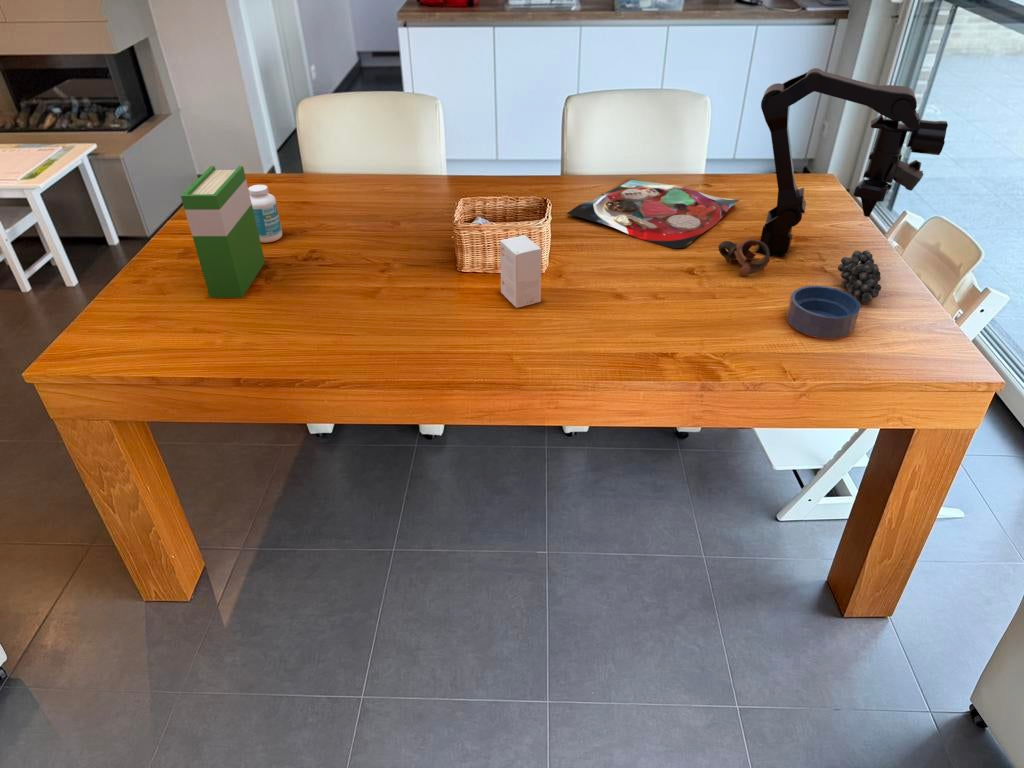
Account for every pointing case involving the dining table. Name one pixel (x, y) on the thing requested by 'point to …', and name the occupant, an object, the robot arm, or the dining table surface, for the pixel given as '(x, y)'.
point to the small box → (520, 270)
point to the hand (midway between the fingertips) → (866, 216)
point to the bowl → (823, 312)
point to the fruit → (861, 276)
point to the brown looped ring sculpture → (744, 254)
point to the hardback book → (224, 231)
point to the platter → (656, 212)
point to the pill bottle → (265, 213)
